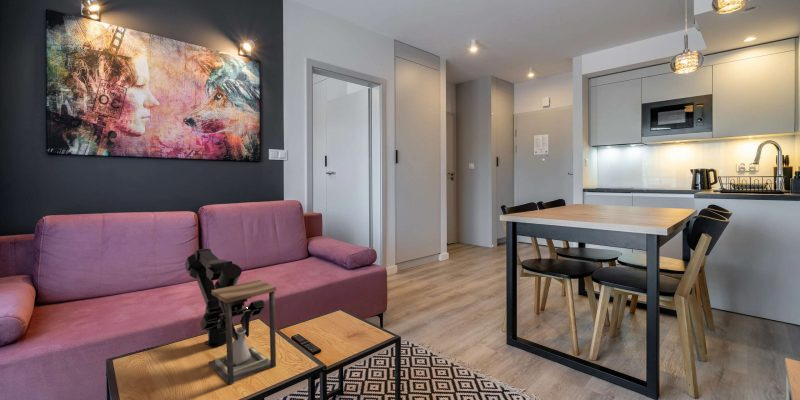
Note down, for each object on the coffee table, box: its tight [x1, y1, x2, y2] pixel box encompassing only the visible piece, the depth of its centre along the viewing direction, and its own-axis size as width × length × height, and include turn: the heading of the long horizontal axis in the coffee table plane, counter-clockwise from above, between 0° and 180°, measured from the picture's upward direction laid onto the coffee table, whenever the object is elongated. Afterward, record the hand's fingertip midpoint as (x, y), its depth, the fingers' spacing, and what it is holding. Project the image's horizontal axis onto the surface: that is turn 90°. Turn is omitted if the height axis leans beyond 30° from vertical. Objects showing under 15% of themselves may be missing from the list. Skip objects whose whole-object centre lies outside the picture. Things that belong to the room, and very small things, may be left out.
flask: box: [225, 326, 251, 365], centre depth 115 cm, size 7×7×10 cm
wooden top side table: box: [208, 279, 277, 386], centre depth 114 cm, size 17×15×25 cm
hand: (242, 338), depth 113 cm, fingers closed on flask, 3 cm apart
